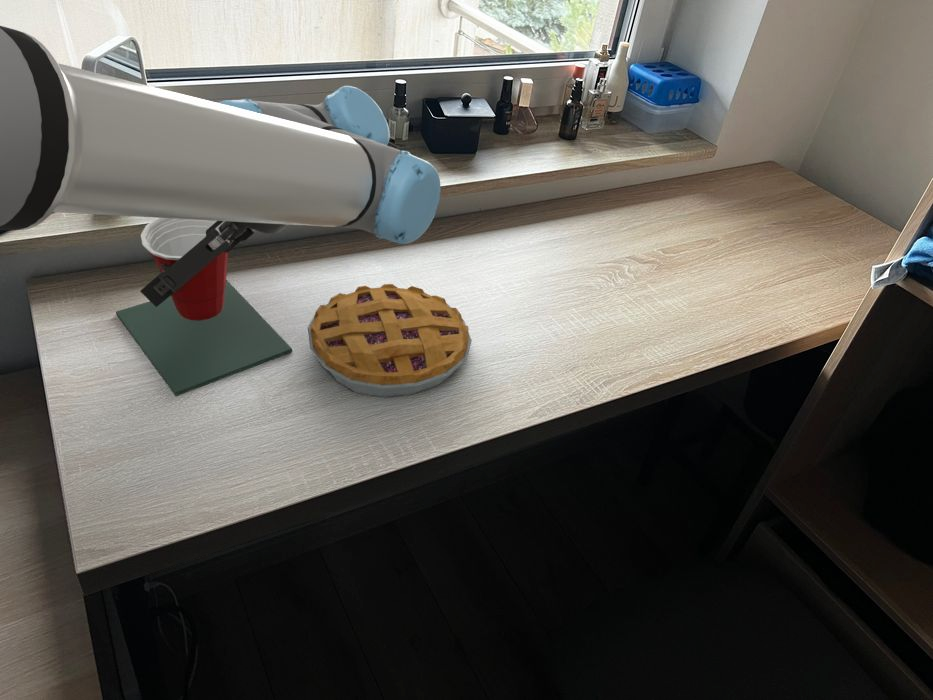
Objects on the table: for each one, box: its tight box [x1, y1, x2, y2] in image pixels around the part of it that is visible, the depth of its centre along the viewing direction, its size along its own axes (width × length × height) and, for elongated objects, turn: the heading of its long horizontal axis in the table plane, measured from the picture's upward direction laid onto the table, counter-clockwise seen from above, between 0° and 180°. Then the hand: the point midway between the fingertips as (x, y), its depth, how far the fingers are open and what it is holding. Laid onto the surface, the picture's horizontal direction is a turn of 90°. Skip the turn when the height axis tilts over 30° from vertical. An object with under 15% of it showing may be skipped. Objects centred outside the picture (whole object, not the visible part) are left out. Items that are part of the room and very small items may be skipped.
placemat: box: [115, 279, 293, 397], centre depth 98 cm, size 16×20×1 cm
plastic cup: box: [140, 217, 231, 321], centre depth 92 cm, size 11×11×12 cm
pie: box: [307, 283, 472, 398], centre depth 98 cm, size 22×22×5 cm
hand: (173, 276), depth 94 cm, fingers closed on plastic cup, 10 cm apart
